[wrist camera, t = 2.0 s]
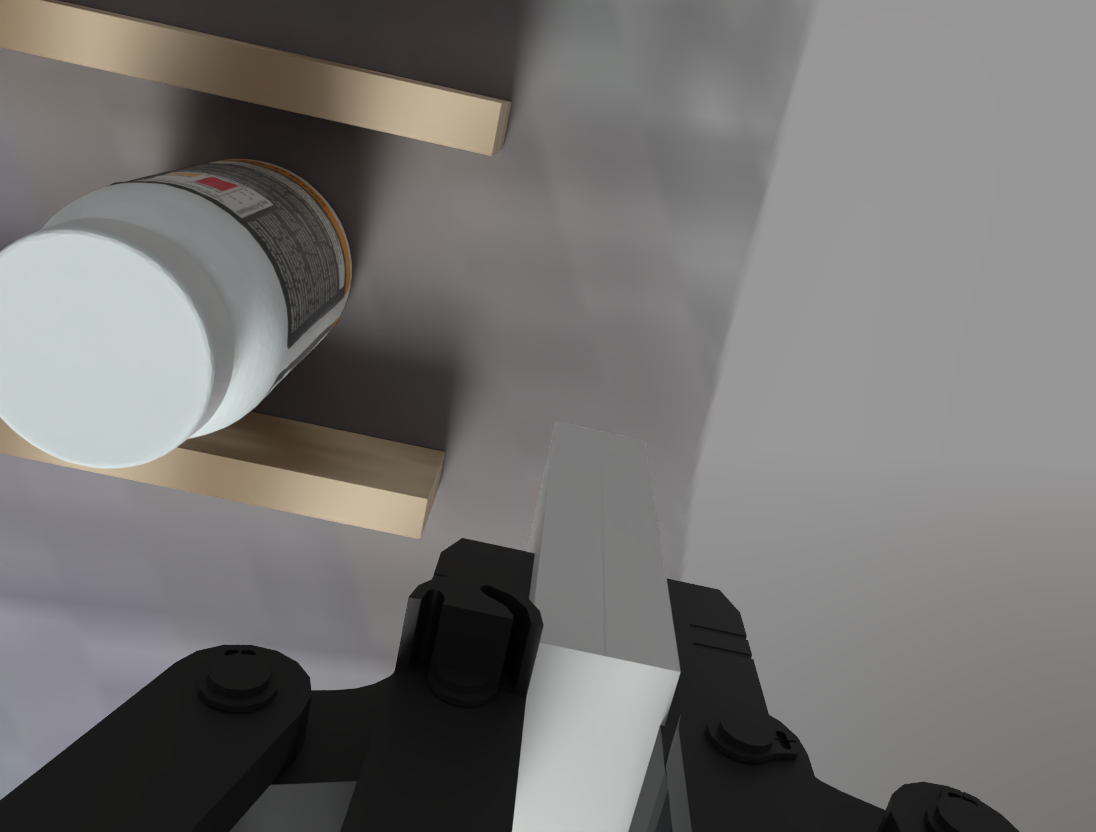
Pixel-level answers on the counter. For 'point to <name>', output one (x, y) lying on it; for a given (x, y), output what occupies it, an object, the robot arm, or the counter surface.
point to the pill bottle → (165, 308)
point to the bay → (307, 88)
